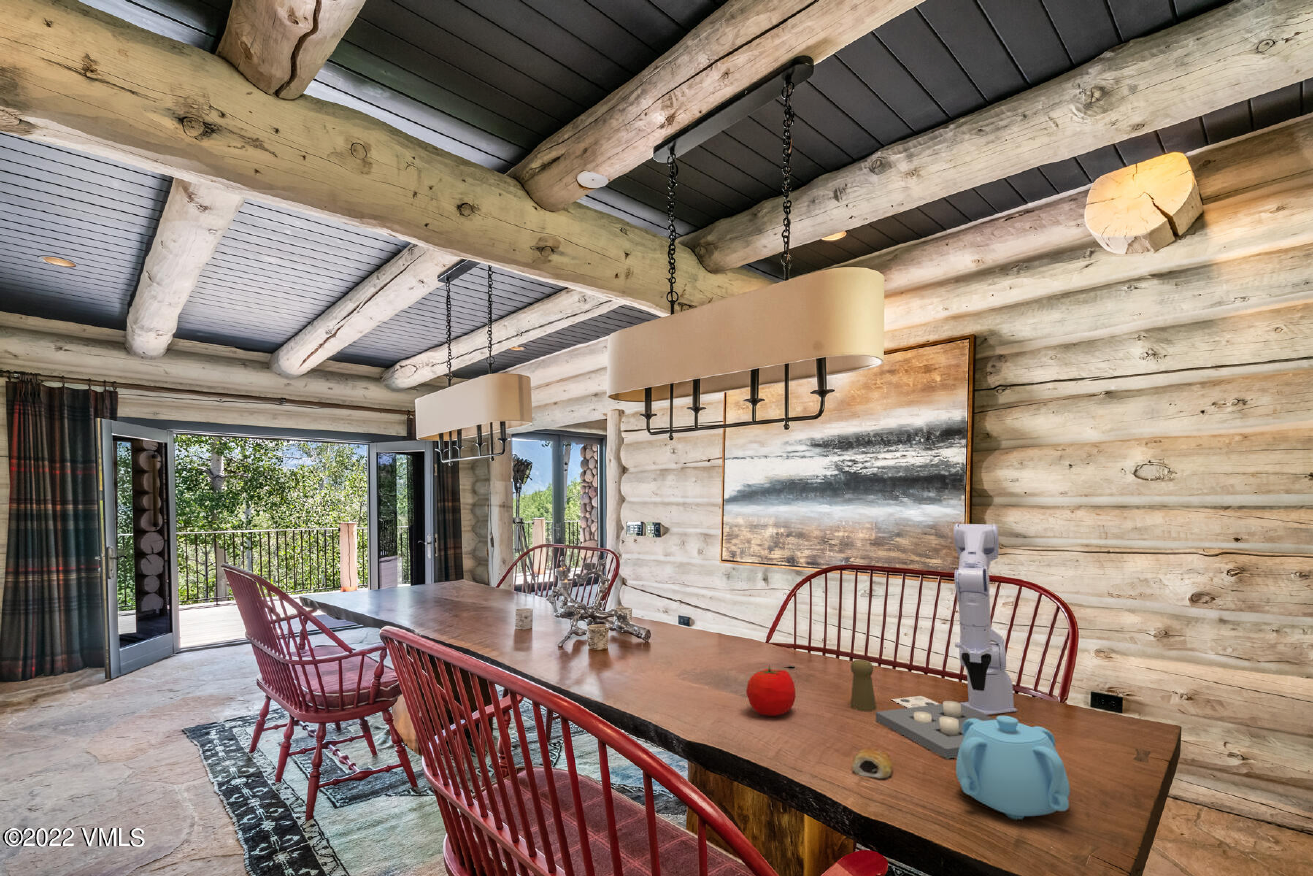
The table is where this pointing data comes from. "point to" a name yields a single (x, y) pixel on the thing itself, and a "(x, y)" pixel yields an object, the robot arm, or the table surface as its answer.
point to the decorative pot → (1012, 767)
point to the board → (928, 727)
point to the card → (914, 701)
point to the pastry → (872, 763)
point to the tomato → (771, 692)
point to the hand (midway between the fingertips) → (978, 689)
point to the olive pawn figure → (862, 686)
